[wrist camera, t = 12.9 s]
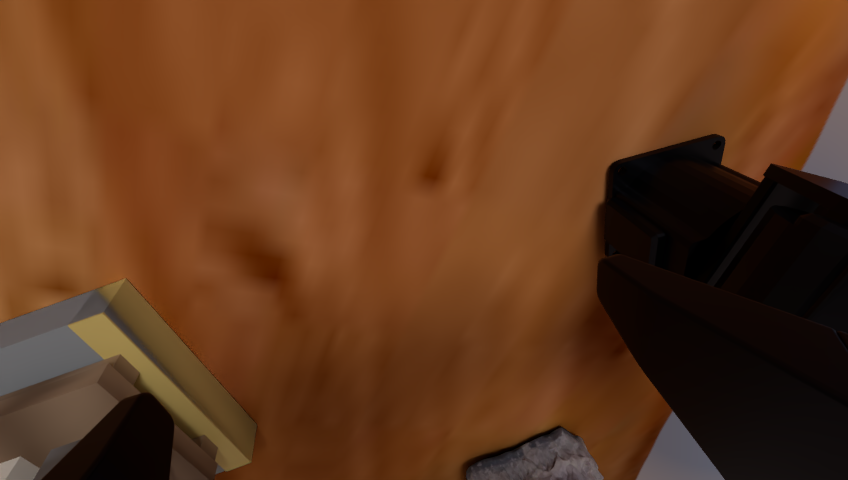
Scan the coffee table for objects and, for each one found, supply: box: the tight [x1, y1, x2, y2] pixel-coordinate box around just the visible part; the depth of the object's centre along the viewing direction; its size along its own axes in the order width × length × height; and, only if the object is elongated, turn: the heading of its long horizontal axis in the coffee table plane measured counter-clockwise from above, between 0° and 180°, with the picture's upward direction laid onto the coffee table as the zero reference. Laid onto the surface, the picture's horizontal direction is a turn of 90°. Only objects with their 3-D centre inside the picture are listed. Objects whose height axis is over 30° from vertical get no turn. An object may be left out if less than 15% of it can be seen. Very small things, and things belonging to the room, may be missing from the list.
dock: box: [0, 279, 257, 474], centre depth 23 cm, size 14×13×3 cm
